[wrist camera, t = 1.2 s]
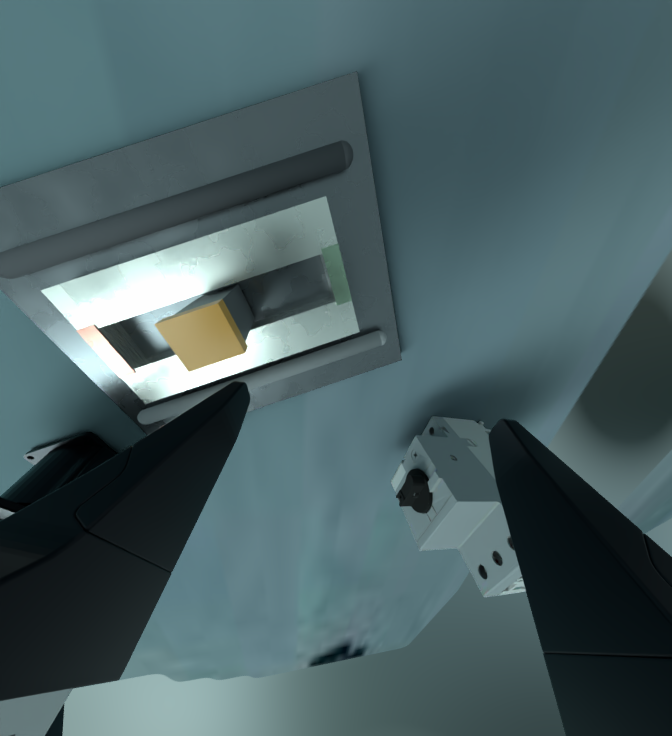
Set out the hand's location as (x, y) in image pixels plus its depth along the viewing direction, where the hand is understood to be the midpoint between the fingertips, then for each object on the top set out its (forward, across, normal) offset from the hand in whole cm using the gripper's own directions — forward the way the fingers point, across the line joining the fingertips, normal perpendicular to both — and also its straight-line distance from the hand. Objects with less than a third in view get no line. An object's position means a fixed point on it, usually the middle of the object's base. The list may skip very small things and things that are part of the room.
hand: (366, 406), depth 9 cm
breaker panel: (+11, +11, +2) cm, 16 cm away
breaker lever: (+10, +11, +2) cm, 15 cm away
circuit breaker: (+14, -10, +21) cm, 27 cm away
